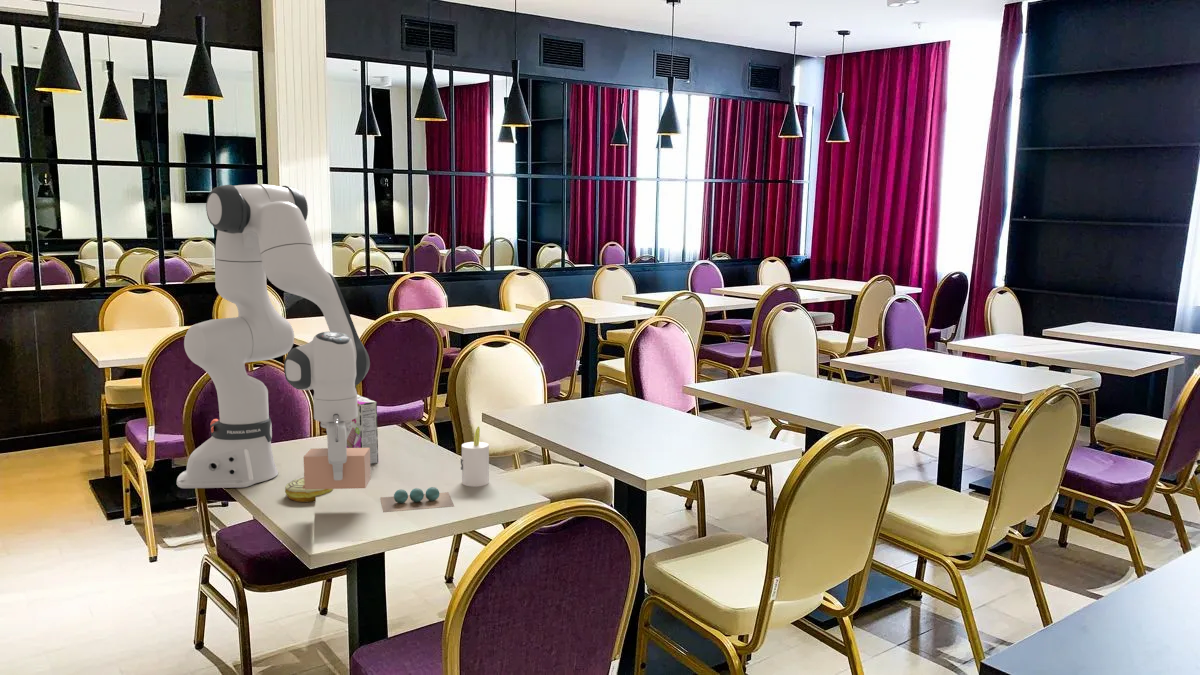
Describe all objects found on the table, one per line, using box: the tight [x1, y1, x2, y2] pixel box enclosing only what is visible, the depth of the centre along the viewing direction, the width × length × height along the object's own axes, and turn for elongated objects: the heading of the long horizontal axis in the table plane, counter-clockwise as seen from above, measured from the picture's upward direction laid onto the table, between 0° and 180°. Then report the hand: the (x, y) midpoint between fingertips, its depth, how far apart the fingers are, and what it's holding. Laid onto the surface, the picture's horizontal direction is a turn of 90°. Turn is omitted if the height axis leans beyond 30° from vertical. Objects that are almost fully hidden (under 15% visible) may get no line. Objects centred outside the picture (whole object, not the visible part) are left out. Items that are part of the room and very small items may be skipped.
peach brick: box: [303, 447, 372, 490], centre depth 188 cm, size 12×7×7 cm, turn 95°
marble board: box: [379, 486, 455, 513], centre depth 194 cm, size 15×10×4 cm, turn 107°
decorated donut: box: [284, 477, 333, 503], centre depth 202 cm, size 10×11×4 cm
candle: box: [460, 426, 490, 487], centre depth 208 cm, size 6×6×15 cm
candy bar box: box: [346, 394, 379, 466], centre depth 230 cm, size 11×5×16 cm, turn 40°
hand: (337, 473), depth 189 cm, fingers closed on peach brick, 7 cm apart
